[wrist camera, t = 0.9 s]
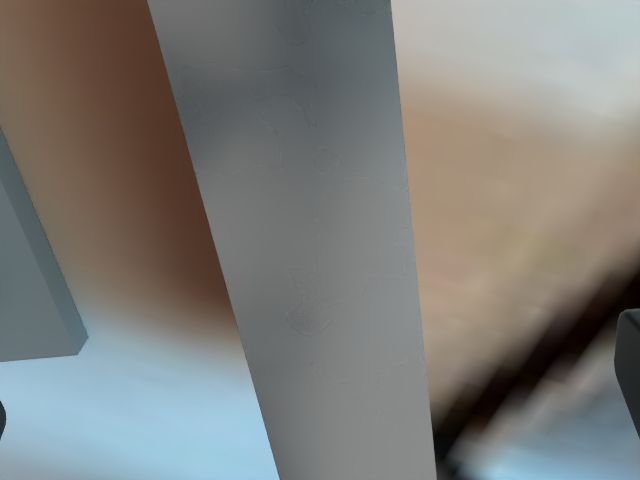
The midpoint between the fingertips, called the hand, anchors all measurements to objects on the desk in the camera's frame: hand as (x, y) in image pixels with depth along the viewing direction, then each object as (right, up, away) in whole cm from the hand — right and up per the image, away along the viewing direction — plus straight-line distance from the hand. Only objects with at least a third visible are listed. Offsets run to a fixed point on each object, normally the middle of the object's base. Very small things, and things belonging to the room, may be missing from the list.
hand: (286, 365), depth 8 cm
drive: (+1, +5, +10) cm, 11 cm away
